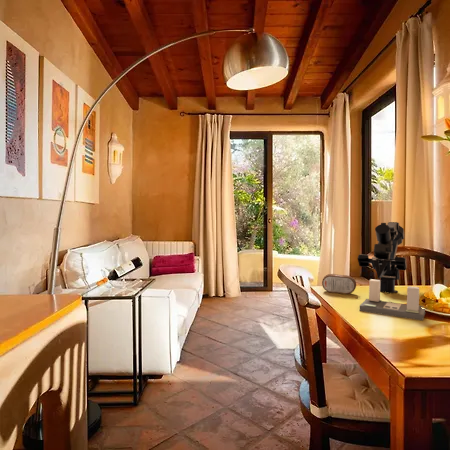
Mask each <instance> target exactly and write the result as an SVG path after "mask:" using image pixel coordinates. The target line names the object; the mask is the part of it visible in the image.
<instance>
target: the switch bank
mask: <svg viewBox="0 0 450 450" xmlns="http://www.w3.org/2000/svg"><path fill="white" fill-rule="evenodd" d="M421 307H423V306H422V305H419V310H418V311H413V310H407V303H399V302H391V301H384V300H381V299H380V301H379V302H377V301H370V300H369V298H366V299H365V300H364V301H363V302H362V303H361V304H360V305H359V311H360V312H365V313H370V314H371V313H373V314H379V315H384V316H385V315H386V316H390V317H392V316H393V317H397V318H405V319H411V320H416V321H422V322H423V321H424V318H425V315H426V312H425V309H422V308H421Z"/></svg>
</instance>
